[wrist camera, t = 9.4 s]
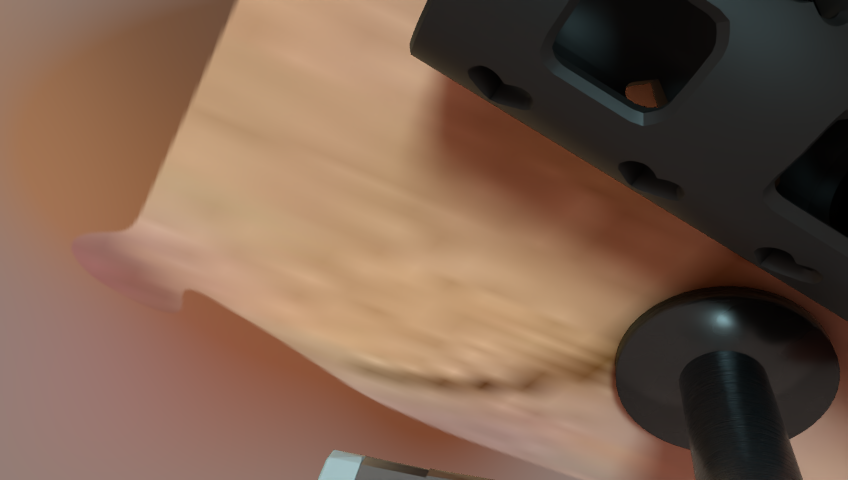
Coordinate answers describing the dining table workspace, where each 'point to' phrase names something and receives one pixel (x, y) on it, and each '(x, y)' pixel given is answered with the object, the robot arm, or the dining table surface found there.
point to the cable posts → (728, 379)
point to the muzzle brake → (682, 110)
